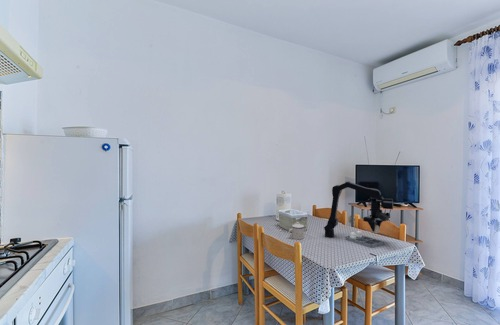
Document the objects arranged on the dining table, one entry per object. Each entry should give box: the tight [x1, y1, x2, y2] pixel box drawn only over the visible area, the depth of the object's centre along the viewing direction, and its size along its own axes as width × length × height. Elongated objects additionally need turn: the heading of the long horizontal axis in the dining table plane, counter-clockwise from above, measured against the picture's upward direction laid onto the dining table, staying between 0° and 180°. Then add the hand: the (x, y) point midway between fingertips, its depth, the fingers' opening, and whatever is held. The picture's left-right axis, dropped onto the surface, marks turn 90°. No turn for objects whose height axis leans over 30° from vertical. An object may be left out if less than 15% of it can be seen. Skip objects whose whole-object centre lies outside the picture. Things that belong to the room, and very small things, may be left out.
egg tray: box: [345, 234, 385, 249], centre depth 169 cm, size 14×20×3 cm
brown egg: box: [371, 224, 380, 234], centre depth 165 cm, size 4×4×6 cm
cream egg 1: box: [349, 231, 356, 239], centre depth 173 cm, size 4×4×6 cm
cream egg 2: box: [355, 230, 363, 238], centre depth 176 cm, size 4×4×6 cm
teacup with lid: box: [288, 222, 305, 240], centre depth 181 cm, size 12×9×12 cm
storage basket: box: [278, 208, 309, 233], centre depth 207 cm, size 24×16×15 cm
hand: (375, 230), depth 165 cm, fingers closed on brown egg, 4 cm apart
